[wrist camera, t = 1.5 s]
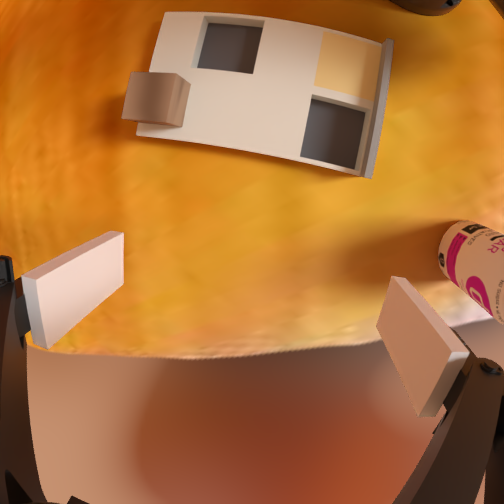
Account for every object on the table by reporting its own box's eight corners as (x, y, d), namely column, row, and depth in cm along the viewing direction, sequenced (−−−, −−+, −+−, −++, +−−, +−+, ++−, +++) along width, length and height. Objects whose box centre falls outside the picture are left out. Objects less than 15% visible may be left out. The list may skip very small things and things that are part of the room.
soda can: (450, 290, 37) (508, 346, 22) (425, 244, 35) (489, 289, 21) (490, 254, 35) (557, 295, 20) (468, 206, 33) (543, 233, 19)
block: (141, 123, 32) (121, 118, 27) (150, 81, 31) (131, 71, 26) (182, 127, 32) (166, 122, 27) (191, 84, 31) (176, 73, 26)
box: (144, 136, 35) (127, 134, 31) (171, 19, 30) (159, 5, 26) (361, 176, 34) (371, 179, 30) (382, 52, 29) (394, 40, 25)
